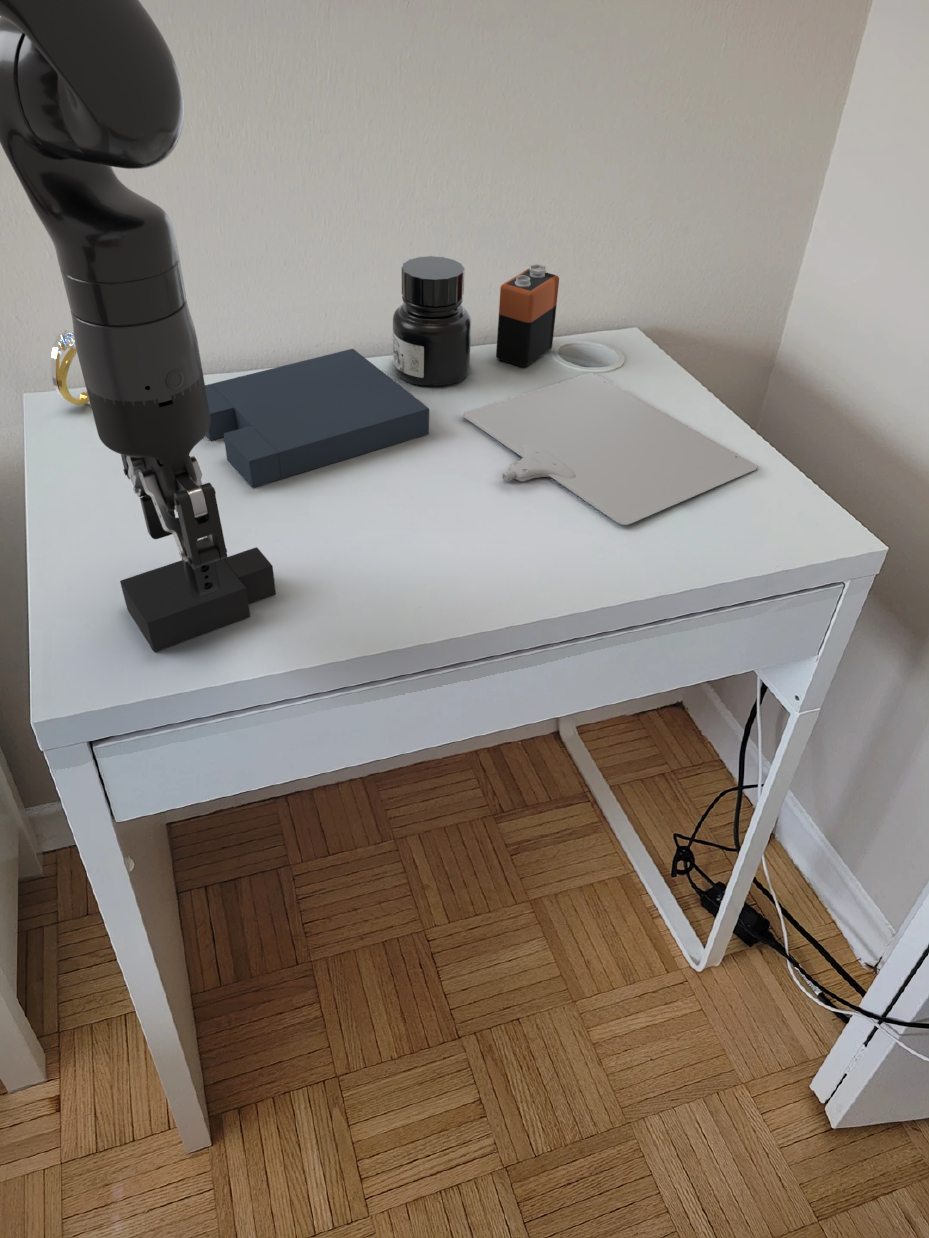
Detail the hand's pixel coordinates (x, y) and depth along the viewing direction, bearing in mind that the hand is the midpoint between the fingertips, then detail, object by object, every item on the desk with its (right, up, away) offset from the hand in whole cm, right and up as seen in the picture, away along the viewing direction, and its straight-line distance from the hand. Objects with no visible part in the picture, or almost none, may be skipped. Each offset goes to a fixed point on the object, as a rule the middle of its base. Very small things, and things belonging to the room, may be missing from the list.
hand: (184, 562), depth 73 cm
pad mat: (+5, +16, +26) cm, 31 cm away
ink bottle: (+18, +24, +37) cm, 48 cm away
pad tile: (+1, -3, +4) cm, 5 cm away
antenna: (+35, +13, +25) cm, 45 cm away
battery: (+29, +27, +41) cm, 57 cm away
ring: (-19, +19, +28) cm, 39 cm away
